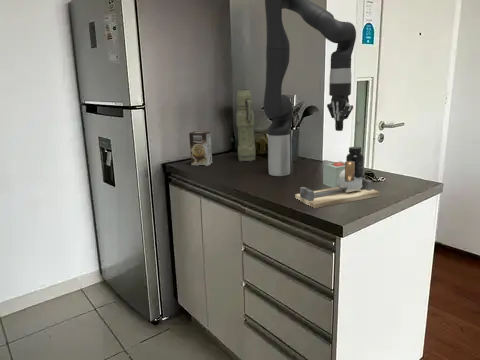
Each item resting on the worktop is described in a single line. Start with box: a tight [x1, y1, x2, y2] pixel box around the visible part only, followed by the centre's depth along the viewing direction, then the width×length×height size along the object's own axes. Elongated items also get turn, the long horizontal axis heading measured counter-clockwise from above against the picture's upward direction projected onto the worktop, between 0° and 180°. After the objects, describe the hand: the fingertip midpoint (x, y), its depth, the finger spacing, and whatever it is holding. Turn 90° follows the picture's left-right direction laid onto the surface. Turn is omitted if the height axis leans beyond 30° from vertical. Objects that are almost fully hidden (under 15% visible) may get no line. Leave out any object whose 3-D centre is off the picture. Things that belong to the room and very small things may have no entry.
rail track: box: [294, 177, 380, 209], centre depth 134 cm, size 12×26×5 cm, turn 112°
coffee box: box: [188, 130, 213, 167], centre depth 191 cm, size 9×6×16 cm
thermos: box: [235, 88, 257, 162], centre depth 194 cm, size 9×12×35 cm
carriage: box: [337, 161, 362, 192], centre depth 134 cm, size 6×6×10 cm
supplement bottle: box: [345, 146, 365, 178], centre depth 157 cm, size 7×7×12 cm
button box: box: [322, 160, 346, 188], centre depth 147 cm, size 8×8×8 cm
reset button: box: [334, 161, 344, 167], centre depth 146 cm, size 4×4×4 cm
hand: (339, 130), depth 143 cm, fingers closed
